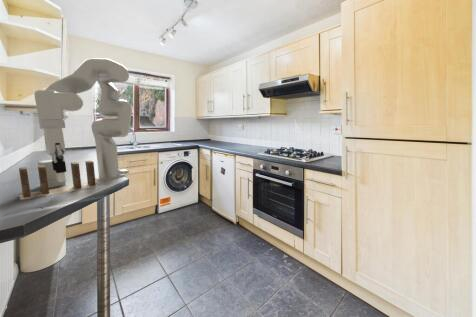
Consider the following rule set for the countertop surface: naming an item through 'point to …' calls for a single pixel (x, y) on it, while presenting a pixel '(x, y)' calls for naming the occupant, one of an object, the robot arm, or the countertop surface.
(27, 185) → the domino end
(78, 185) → the domino
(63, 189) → the board
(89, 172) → the domino
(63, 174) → the domino
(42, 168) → the domino
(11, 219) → the countertop surface
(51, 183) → the supplement box
